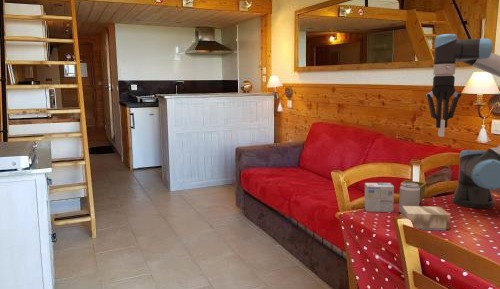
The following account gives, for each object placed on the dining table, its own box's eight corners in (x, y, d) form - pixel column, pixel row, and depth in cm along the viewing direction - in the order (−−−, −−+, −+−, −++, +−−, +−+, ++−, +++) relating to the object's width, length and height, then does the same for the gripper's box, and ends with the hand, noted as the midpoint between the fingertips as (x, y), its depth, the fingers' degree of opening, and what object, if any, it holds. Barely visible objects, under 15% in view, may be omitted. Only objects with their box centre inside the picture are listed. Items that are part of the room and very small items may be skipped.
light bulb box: (389, 207, 169) (390, 182, 168) (393, 212, 162) (394, 186, 161) (363, 207, 170) (364, 182, 169) (366, 212, 163) (367, 185, 162)
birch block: (441, 206, 151) (402, 205, 153) (450, 215, 141) (408, 213, 143) (440, 219, 151) (401, 218, 153) (449, 228, 142) (407, 227, 144)
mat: (435, 219, 153) (435, 218, 153) (446, 230, 140) (446, 230, 140) (399, 218, 155) (399, 217, 155) (407, 229, 142) (407, 228, 142)
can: (395, 211, 164) (396, 182, 162) (413, 210, 165) (414, 181, 163) (404, 216, 157) (405, 186, 155) (422, 216, 157) (424, 185, 156)
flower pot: (404, 199, 181) (405, 179, 180) (425, 202, 176) (426, 182, 174) (399, 204, 174) (399, 183, 172) (420, 207, 169) (421, 186, 167)
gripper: (429, 75, 154) (426, 137, 157) (465, 74, 152) (462, 137, 155) (423, 76, 161) (421, 135, 164) (458, 75, 159) (455, 135, 162)
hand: (441, 136), depth 160 cm, fingers closed
